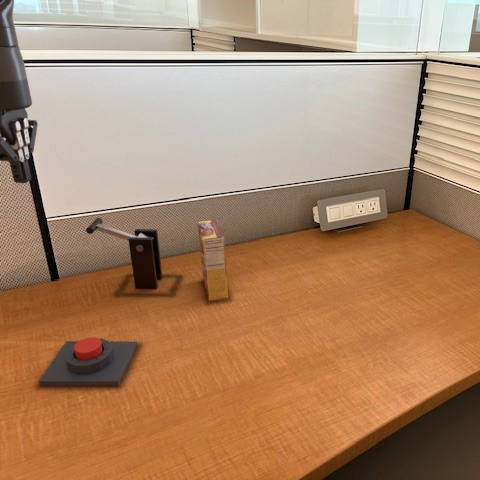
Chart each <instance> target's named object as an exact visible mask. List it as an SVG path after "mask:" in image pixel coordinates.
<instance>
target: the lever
mask: <svg viewBox="0 0 480 480" xmlns="http://www.w3.org/2000/svg"><path fill="white" fill-rule="evenodd" d="M96 231H99V232H101V233H104V234H108V235H110V236H114V237H117V238H120V239H123V240H125V241H128V239H129V238H130V237H144V238H152V241H153V237H151V236H148V235H145V234H142V233H140V234H139V235H138V236H135V234H131V233H129V232H126V231H123V230H119V229H117V228H113V227H110V226H109V225H104V224H103V219H102V218H101V217H96V218H95V219H94V220H93V221H92V222H91V223H90V224H89V225H88V226H87V227H86V228H85V232H86V233H87V234H88V235H93V234H94V233H95V232H96Z"/></svg>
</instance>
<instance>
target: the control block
mask: <svg viewBox="0 0 480 480" xmlns="http://www.w3.org/2000/svg"><path fill="white" fill-rule="evenodd" d="M99 339H100V340H101V344H102V350H103V352H102V354H101V355H100V356H98V357H97V358H94V359H91V360H88V361H80V360H78V359H77V358H76V355H75V350H74V346H75V344H76V343H77V342H79V341H80V340H79V341H78V340H77V341H75V340H73V341H72V340H69V341H68V340H67V341H65V342H64V344H63V346H62V348H61V349H60V350H59V352H58V353H57V354H56V356H55V357H54V359H53V360H52V362H51V363H50V364H49V366H48V367H47V368H46V370H45V372H44V373H43V374H42V376H41V378H40V379H39V380H38V384H39V387H120V385H121V382H122V381H123V378H124V376H125V374H126V373H127V370H128V369H129V366H130V364H131V361H132V360H133V357H134V355H135V354H136V351H137V350H138V342H137V341H109V340H107V339H105V338H99Z"/></svg>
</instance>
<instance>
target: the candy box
mask: <svg viewBox="0 0 480 480" xmlns="http://www.w3.org/2000/svg"><path fill="white" fill-rule="evenodd" d="M197 230H198V238H199V249H200V258H201V268H202V278H203V285H204V288H205V291H206V295H207V299H208V302H210V301H216V300H223V299H228V298H229V293H228V290H229V289H228V279H227V278H228V277H227V261H226V252H225V251H226V250H225V249H226V248H225V236H224V235H223V233H222V231H221V228H220V226H219V223H218V220H217V219H211V220H210V219H209V220H202V221H197Z"/></svg>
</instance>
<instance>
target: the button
mask: <svg viewBox="0 0 480 480" xmlns="http://www.w3.org/2000/svg"><path fill="white" fill-rule="evenodd" d="M100 339H101V338H98V337H94V336H93V337H92V336H91V337H86V338H83V339H80V340H79V342H77V343H76V344H75V346H74V350H75V355H76V358H77V359H78V360H80V361H88V360H91V359H94V358H97V357H98V356H100V355H101V354H102V352H103V350H102V344H101V340H100Z"/></svg>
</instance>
